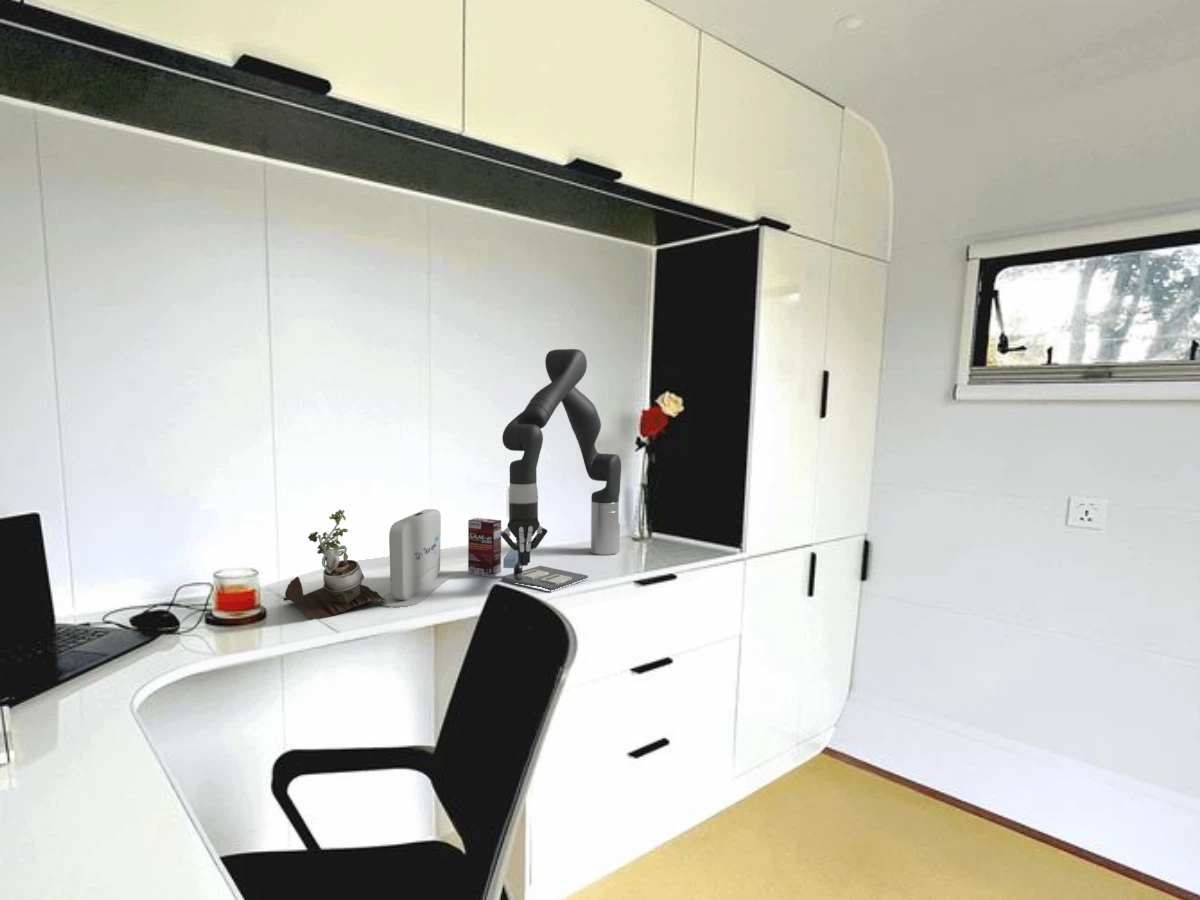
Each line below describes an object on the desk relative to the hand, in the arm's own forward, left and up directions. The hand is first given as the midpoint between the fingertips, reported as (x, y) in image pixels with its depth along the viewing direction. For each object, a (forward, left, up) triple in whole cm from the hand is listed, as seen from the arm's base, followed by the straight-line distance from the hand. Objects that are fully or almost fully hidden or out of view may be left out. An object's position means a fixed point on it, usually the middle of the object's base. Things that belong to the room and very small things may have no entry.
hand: (524, 564), depth 167 cm
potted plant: (+39, -27, -7) cm, 48 cm away
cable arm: (-2, -6, 0) cm, 7 cm away
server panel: (-11, -2, -7) cm, 13 cm away
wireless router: (+17, -22, -7) cm, 29 cm away
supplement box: (-5, -20, -7) cm, 22 cm away
